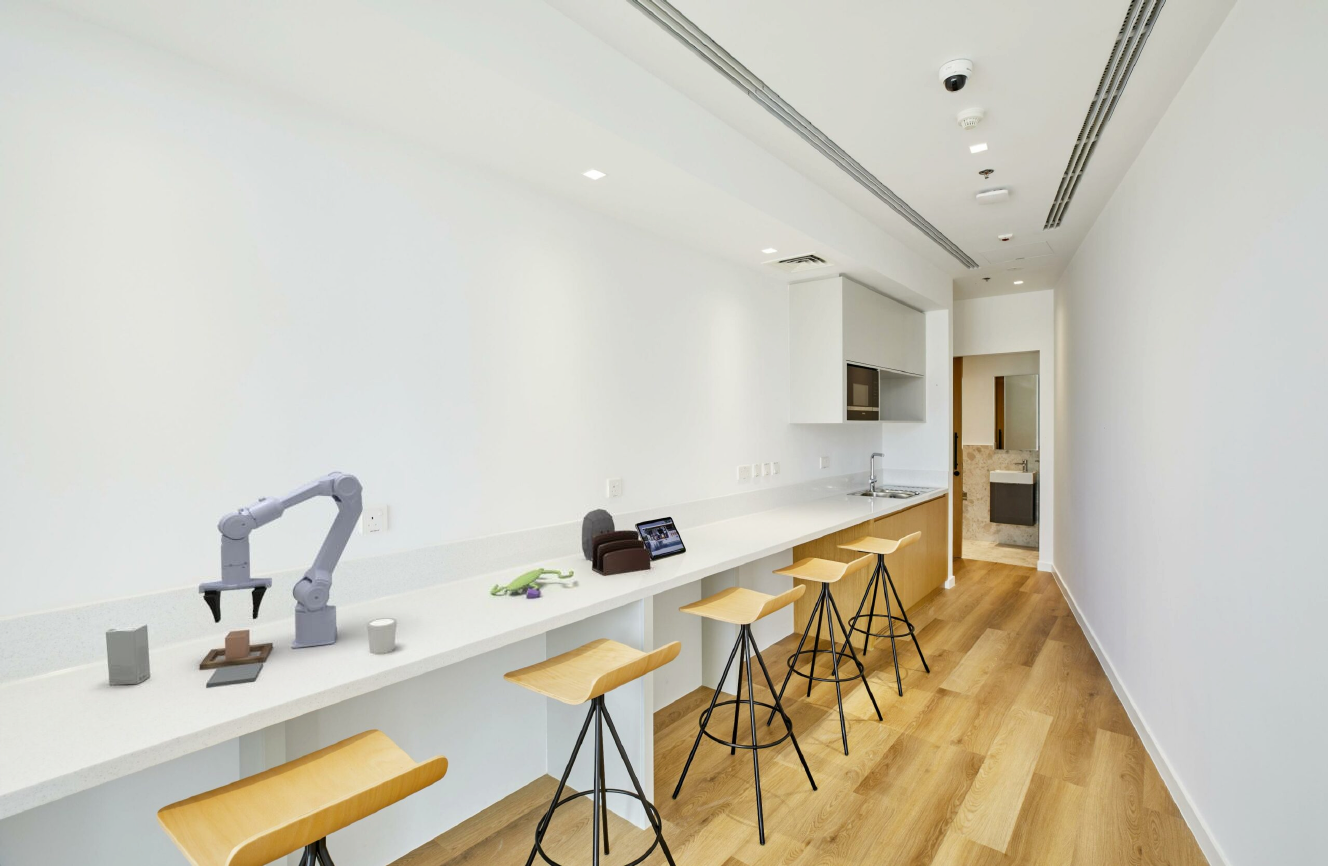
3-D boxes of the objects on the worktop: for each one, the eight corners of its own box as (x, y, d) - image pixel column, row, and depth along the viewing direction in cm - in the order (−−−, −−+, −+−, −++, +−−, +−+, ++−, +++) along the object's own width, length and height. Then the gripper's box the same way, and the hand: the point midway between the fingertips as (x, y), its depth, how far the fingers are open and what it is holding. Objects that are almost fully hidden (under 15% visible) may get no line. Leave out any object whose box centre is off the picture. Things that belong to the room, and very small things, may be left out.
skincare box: (151, 676, 146) (150, 623, 145) (137, 685, 141) (135, 630, 141) (121, 677, 145) (120, 623, 145) (106, 686, 141) (104, 630, 140)
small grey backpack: (608, 554, 270) (608, 506, 269) (620, 557, 263) (621, 508, 262) (577, 559, 260) (577, 509, 259) (589, 563, 254) (589, 512, 253)
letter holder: (591, 570, 243) (591, 533, 243) (637, 564, 254) (637, 528, 253) (603, 576, 235) (603, 537, 234) (650, 569, 246) (651, 532, 245)
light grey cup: (402, 647, 164) (402, 620, 164) (378, 656, 158) (378, 628, 158) (385, 642, 168) (385, 615, 167) (361, 651, 162) (360, 623, 162)
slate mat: (263, 666, 152) (262, 662, 152) (254, 681, 144) (254, 677, 144) (217, 671, 149) (217, 668, 149) (206, 687, 140) (206, 683, 140)
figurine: (581, 585, 224) (581, 569, 224) (524, 604, 202) (524, 586, 202) (542, 577, 234) (542, 561, 234) (484, 594, 212) (484, 577, 212)
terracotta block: (249, 653, 160) (249, 629, 160) (245, 661, 155) (244, 636, 155) (230, 655, 158) (230, 631, 158) (225, 663, 154) (224, 638, 153)
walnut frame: (272, 647, 164) (272, 642, 164) (265, 662, 154) (264, 657, 154) (211, 654, 159) (211, 649, 159) (199, 669, 150) (199, 664, 150)
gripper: (194, 569, 149) (195, 628, 150) (267, 564, 155) (268, 621, 155) (203, 562, 156) (204, 619, 156) (273, 558, 161) (273, 612, 162)
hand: (236, 619), depth 156 cm, fingers open, 7 cm apart
